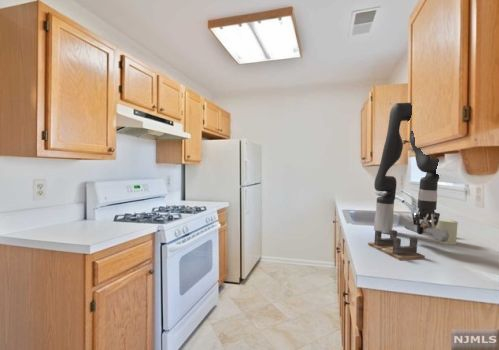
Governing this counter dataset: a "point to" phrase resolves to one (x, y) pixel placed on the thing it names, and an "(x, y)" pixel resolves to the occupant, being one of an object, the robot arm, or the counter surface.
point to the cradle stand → (396, 246)
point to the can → (448, 230)
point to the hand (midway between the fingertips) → (424, 233)
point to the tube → (428, 231)
